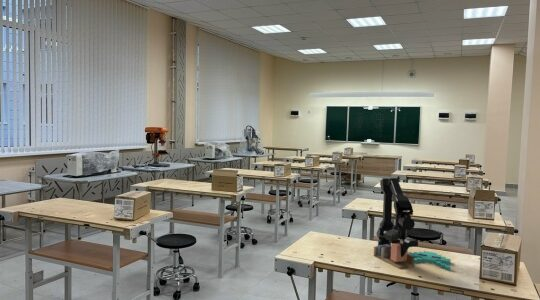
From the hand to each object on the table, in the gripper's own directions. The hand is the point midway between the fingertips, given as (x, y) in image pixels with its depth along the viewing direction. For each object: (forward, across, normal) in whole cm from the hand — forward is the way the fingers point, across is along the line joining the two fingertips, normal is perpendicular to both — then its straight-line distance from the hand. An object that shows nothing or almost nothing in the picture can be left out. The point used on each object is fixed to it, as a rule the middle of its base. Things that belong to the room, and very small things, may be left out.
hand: (399, 255), depth 194 cm
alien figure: (+5, +1, +19) cm, 20 cm away
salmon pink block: (+2, 0, 0) cm, 2 cm away
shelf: (+5, -4, 0) cm, 6 cm away
